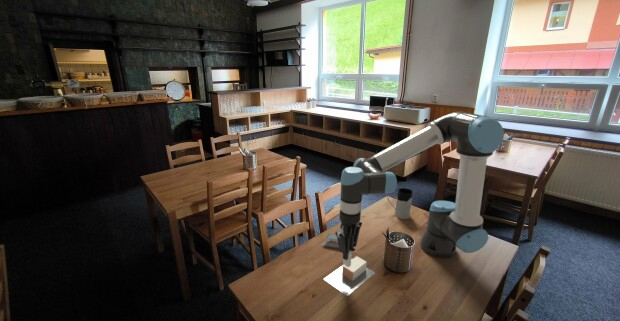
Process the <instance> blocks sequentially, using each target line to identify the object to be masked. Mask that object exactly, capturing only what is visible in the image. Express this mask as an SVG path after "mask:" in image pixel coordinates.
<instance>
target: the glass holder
mask: <svg viewBox="0 0 620 321" xmlns="http://www.w3.org/2000/svg"><path fill="white" fill-rule="evenodd" d="M386 196H387V201H388V202H389V204H390V205H391V206H392V208H394V211H395V212H394V216H395V218H399V219H401V220H408V219H410V218H411V208H412V201H413V190H412V189H410V188H403V187H402V188H399V189H398V191H397V197H396V192H395V191H394V192H393V196H394V198H395V199H396V205H393V203H392V202H391V201H390V198H389V193H386Z"/></svg>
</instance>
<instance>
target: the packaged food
mask: <svg viewBox="0 0 620 321" xmlns="http://www.w3.org/2000/svg"><path fill="white" fill-rule="evenodd" d="M325 238H326V239H325V241H324V242H323V243H322V244H321V245H320V246H322V247H328V248H335V249H337V250H339V246H338V240H337V236H336V234H335V233H328V234H327V235H326V236H325Z"/></svg>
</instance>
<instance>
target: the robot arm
mask: <svg viewBox="0 0 620 321" xmlns="http://www.w3.org/2000/svg"><path fill="white" fill-rule="evenodd" d="M504 136H505V132H504V128H503V125H502V124H501V123H500V122H499V121H498V120H496V119H494V118H492V117H490V116H487V115H481V114H476V113H472V112H467V111H461V110H460V111H455V112H450V113H447V114H445V115H442V116H440V117H438V118H436V119H433V121H430V122H429V123H427V125H426V127H424V128H423V129H421V130H419V131H417V132H415V133H413V134H411V135H409V136H408V137H405V138H404V139H402V140H400V141H398V142H396V143H395V144H392V145H391V146H389V147H387V148H385V149H383V150H381V151H379V152H377V153H376V154H374V155H372V156H369V157H368V158H364V157H360V158H357V159H356V160H355V161H354V163H353V166H349V167H348V166H347V167H345V168H344V169H343V170H342V172H341V178H340V200H339V201H340V203H339V216H338V218H339V222H341V224H340V227H339V229H340V230H338V231H335V233H334V234H336V236H337V240H338V246H339V249H338V251H339V252H340V253H342V265H345V266H347V267H350V266H351V259H352V256H353V252H355V251H356V249H355V248H356V247H357V246H358V244H357V243H358V239H359V235H360V231H361V227H362V225H363V222H362V221H361V217H362V216H361V215H362V202H363V196H369V195H380V194H383V195H385V194H387V193H388V194H389V193H390V194H391V193H394V192H395V191H396V190H397V188H398V187H397V185H398V179H397V177H396V175H395V173H394V172H392V171H388V170H390V169H391V168H393V167H396V166H397V165H400V164H401V163H404V162H405V161H406V160H408V159H410V158H412V157H414V156H416V155H418V154H420V153H421V152H423V151H425V150H427V149H429V148H431V147H433V146H435V145H437V144H438V145H442V144H444V143H446V142H454V143H456V149H455V150H456V152H455V153H456V154H457V155H459V166H458V176H457V183H456V184H457V185H456V187H457V188H456V196H455V202H453V201H450V200H435V201H433V202H432V203H431V205H430V208H429V214H428V218H427V219H428V220H427V225H426V231H425V232H424V234H423V235H422V237H421V239H420V245H419V246H420V247H421V249H422V250H423V251H424V252H425V253H427V254H428V255H430V256H432V257H437V258H442V259H449V258H452V257H453V256H455V255H456V252H457V251H456V250H457V248H458V249H459V250H460V251H462V252H463V253H466V254H473V253H476V252H478V251H480V250H481V249H483V248H484V247H485V245H487V243H488V241H489V234H488V232H487V231H486V230H485V229H484V228H483V225H484V218H483V217H482V215H480V214H481V207H482V200H483V199H482V198H483V191H484V185H485V176H486V171H487V170H486V169H487V161H488V158H490V157H491V156H493V154H494V152H495V151H497V150H498V149H499V148H500V147H499V146H501V145H502V144H503V140H504ZM354 247H355V248H354Z"/></svg>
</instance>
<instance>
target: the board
mask: <svg viewBox="0 0 620 321" xmlns="http://www.w3.org/2000/svg"><path fill="white" fill-rule="evenodd" d="M352 259H353V258H351V260H352ZM343 266H344V264H342V265H341V266H340V267H338V268H336V269H335V270H334V271H332V272H331V273H330V274H328V275H327V276H326V277H324V278H323V280H324V281H325V282H327V284H329V285H331V286H332V287H333V288H335V289H336V290H338V291H339V292H340V293H341V294H343V295H345V297H348V296H350V294H352V293H353V292H354V291H356V290H357V289H358V288H359V287H360V286H362V285H363V284H365V282H366V281H367V280H369V279H370V278H371V277H372V276H374V275H375V274H376V272H375V271H373V270H371V269H370V268H368V267H367V266H366V270H365V271H364V272H363V273H362V274H361V275H359V276H358V277H357V278H356V279H354V280H353V281H351V280H350V279H348V278H347V277H345V276H344V275H342V273H343Z"/></svg>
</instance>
